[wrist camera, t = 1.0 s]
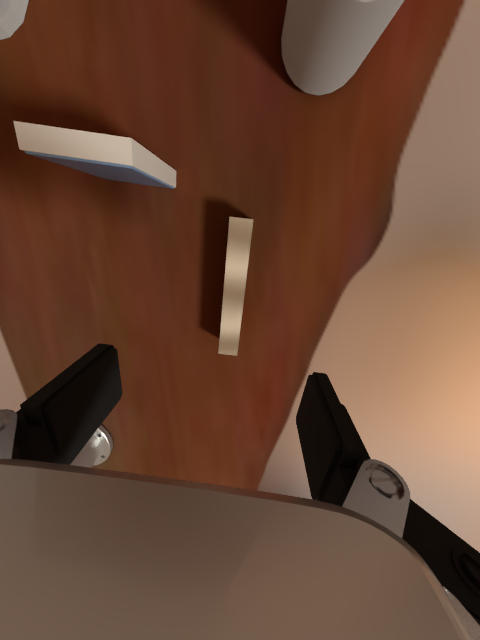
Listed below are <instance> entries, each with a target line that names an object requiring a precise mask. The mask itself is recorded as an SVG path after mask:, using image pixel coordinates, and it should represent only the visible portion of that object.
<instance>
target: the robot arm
mask: <svg viewBox="0 0 480 640" xmlns="http://www.w3.org/2000/svg"><path fill="white" fill-rule="evenodd" d="M121 396H122V386H121V378H120V370H119V362H118V353H117V349H115V348H114V346H113V345H108V344H98V345H96V346H95V347H94V348H92V349H91V350H90V351H89V352H87V353H86V354H85V355H84V356H82V357H81V358H80V359H78V360H77V361H76V362H75V363H73V364H72V365H71V366H69V367H68V368H67V369H66V370H64V371H63V372H62V373H60V374H59V375H58V376H57V377H55V378H54V379H53V380H52V381H50V382H49V383H48V384H46V385H45V386H44V387H43V388H41V389H40V390H39V391H37V392H36V393H35V394H34V395H32V396H31V397H30V398H28V399H27V400H26V401H25V402H23V403H22V404H21V405H20V406H21V409H20V410H19V411H17V412H14V411H12V410H8V409H6V410H0V640H480V553H479V552H478V551H477V550H475V549H474V548H472V547H471V546H470V545H469V544H467V543H466V542H465V541H464V540H462V539H461V538H460V537H458V536H457V535H456V534H454V533H453V532H452V531H451V530H449V529H448V528H447V527H446V526H444V525H443V524H442V523H440V522H439V521H438V520H437V519H435V518H434V517H433V516H431V515H430V514H429V513H427V512H426V511H425V510H424V509H422V508H421V507H420V506H419V505H417V504H416V503H415V502H413V501H412V500H411V499H410V491H409V488H408V486H407V484H406V482H405V481H404V479H403V478H402V477H401V476H400V475H399V474H398V473H397V471H395V470H394V469H393V468H392V467H390V466H389V465H387V464H385V463H383V462H381V461H378V460H373V459H370V457H369V454H368V452H367V450H366V448H365V446H364V444H363V442H362V440H361V438H360V436H359V434H358V432H357V430H356V428H355V426H354V424H353V422H352V420H351V418H350V416H349V414H348V412H347V409H346V408H345V406H344V405H342V404H341V403H340V401H339V399H338V397H337V395H336V393H335V391H334V389H333V386H332V384H331V382H330V380H329V378H328V376H327V375H326V374H324V373H317V372H314V373H313V374H312V375H309V376H308V379H307V383H306V386H305V389H304V392H303V396H302V399H301V402H300V406H299V409H298V413H297V416H296V424H297V429H298V433H299V439H300V443H301V448H302V453H303V458H304V463H305V468H306V473H307V477H308V482H309V487H310V492H311V496H312V499H313V500H312V499H306V498H300V497H294V496H288V495H282V494H275V493H269V492H262V491H255V490H248V489H241V488H234V487H228V486H221V485H214V484H207V483H200V482H192V481H185V480H178V479H171V478H164V477H156V476H149V475H142V474H134V473H127V472H119V471H112V470H104V469H97V468H91V467H92V466H94V465H98V464H100V463H102V462H104V461H105V460H106V459H107V458H108V456H109V455H110V453H111V451H112V448H113V443H112V439H111V436H110V434H109V433H108V431H107V430H106V429H105V428H104V427H103V426H102V425H101V424H102V422H103V421H104V420H105V418H106V417H107V416H108V414H109V413H110V412H111V410H112V409H113V408H114V407H115V405H116V404H117V403H118V401H119V400H120V398H121Z"/></svg>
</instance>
